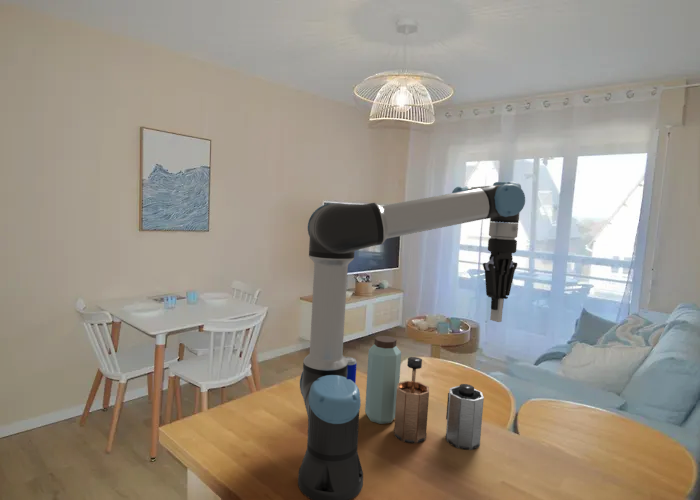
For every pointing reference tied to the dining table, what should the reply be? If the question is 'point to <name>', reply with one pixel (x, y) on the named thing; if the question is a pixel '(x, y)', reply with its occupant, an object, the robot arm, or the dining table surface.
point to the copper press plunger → (414, 373)
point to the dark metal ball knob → (466, 390)
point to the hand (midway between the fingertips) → (495, 320)
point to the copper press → (411, 413)
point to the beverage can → (351, 369)
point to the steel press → (464, 419)
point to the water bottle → (382, 380)
